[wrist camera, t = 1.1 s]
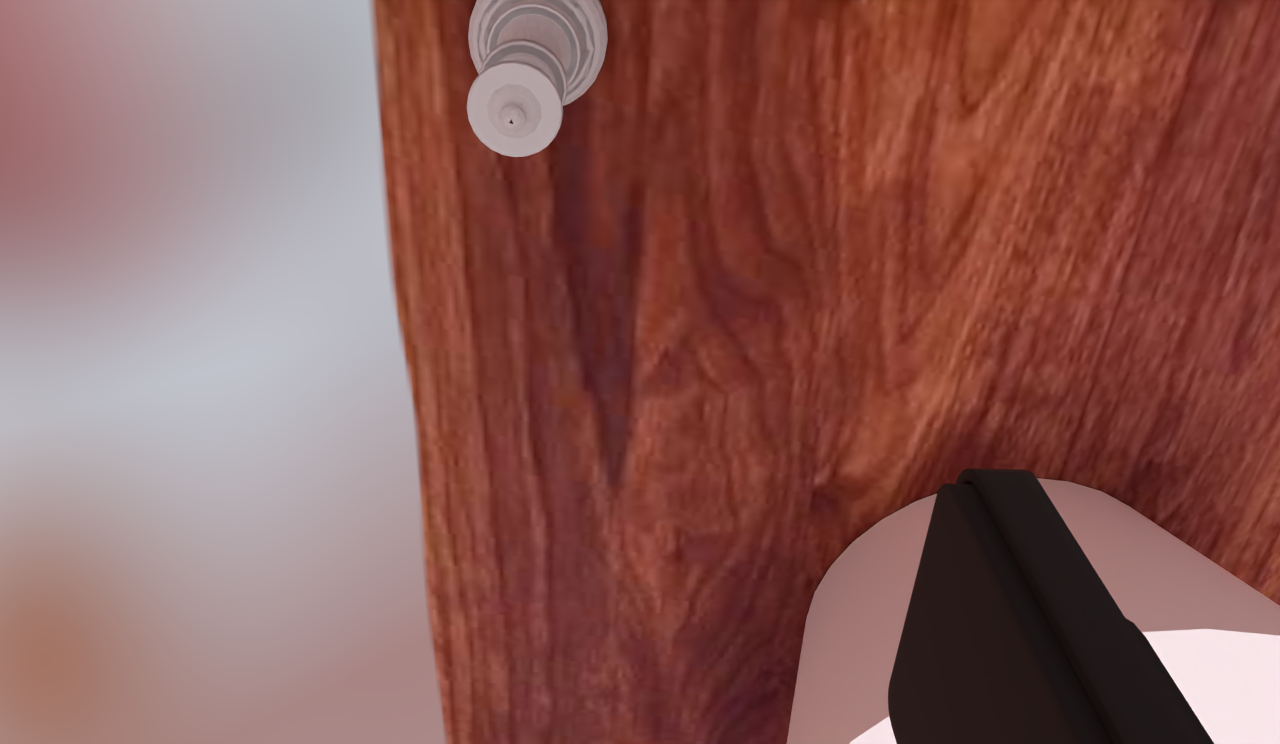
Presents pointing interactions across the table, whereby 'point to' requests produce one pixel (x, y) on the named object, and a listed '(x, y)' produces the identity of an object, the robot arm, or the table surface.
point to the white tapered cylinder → (1132, 573)
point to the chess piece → (531, 68)
